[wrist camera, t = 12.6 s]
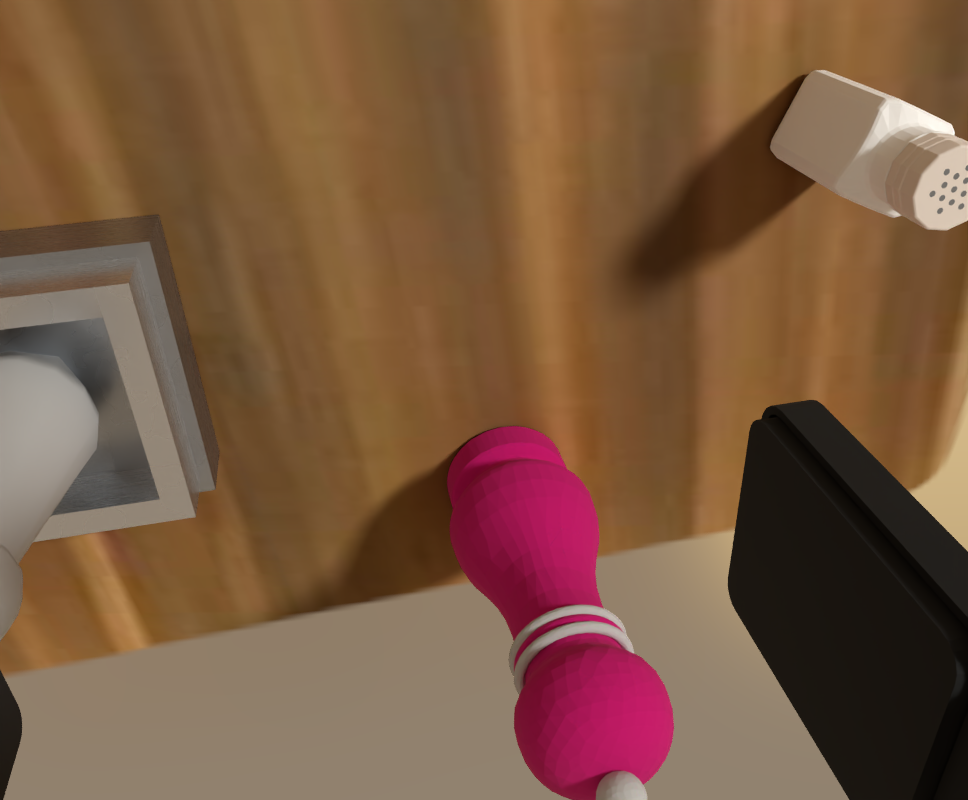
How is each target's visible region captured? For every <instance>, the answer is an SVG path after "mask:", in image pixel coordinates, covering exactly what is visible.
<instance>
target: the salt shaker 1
mask: <svg viewBox="0 0 968 800" xmlns="http://www.w3.org/2000/svg"><path fill="white" fill-rule="evenodd" d="M98 422H99V413H98V411H97V408H96V406H95V404H94V402H93V400H92V398H91V395H90V393H89V391H88V389H87V388H86V387H85V386H84V385H83V384H82V383H81V381H80V380H79V379H78V378H77V377H76V376H75V375H74V373H73V372H72V371H71V370H70V369H69V368H68V367H67V365H66V364H65V363H64V362H63V361H62V360H61V359H60V357H58V356H49V355H41V354H33V353H24V352H16V351H5V352H2V353H0V641H1V639H2V638H3V637H4V635H5V634H6V633H7V631H8V630H9V628H10V627H11V625H12V623H13V622H14V620H15V619H16V617H17V616H18V613H19V610H20V606H21V602H22V589H23V575H22V569H21V568H20V566H19V565H18V564H19V562H20V561H21V559H22V558H23V556H24V555H25V553H26V552H27V550H28V549H29V547H30V546H31V544H32V543H33V541H34V540H35V538H36V537H37V535H38V534H39V532H40V531H41V529H42V528H43V526H44V525H45V523H46V522H47V520H48V519H49V517H50V516H51V514H52V513H53V511H54V510H55V508H56V507H57V505H58V504H59V503H60V501H61V500H62V498H63V497H64V495H65V494H66V492H67V491H68V489H69V488H70V486H71V485H72V483H73V482H74V480H75V479H76V477H77V476H78V474H79V473H80V471H81V470H82V468H83V467H84V466H85V464H86V463H87V461H88V460H89V459H90V457H91V456H92V454H93V453H94V452H95V450H96V449H97V441H98Z"/></svg>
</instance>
